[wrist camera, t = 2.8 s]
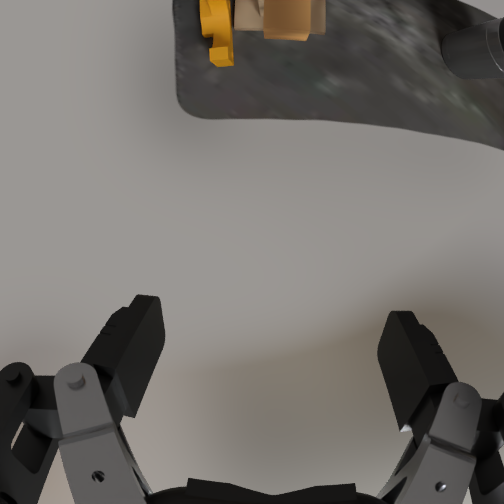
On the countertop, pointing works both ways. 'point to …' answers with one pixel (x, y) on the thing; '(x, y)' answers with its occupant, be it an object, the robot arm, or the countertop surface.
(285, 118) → the countertop surface
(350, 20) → the countertop surface
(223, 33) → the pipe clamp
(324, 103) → the countertop surface
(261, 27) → the stand
